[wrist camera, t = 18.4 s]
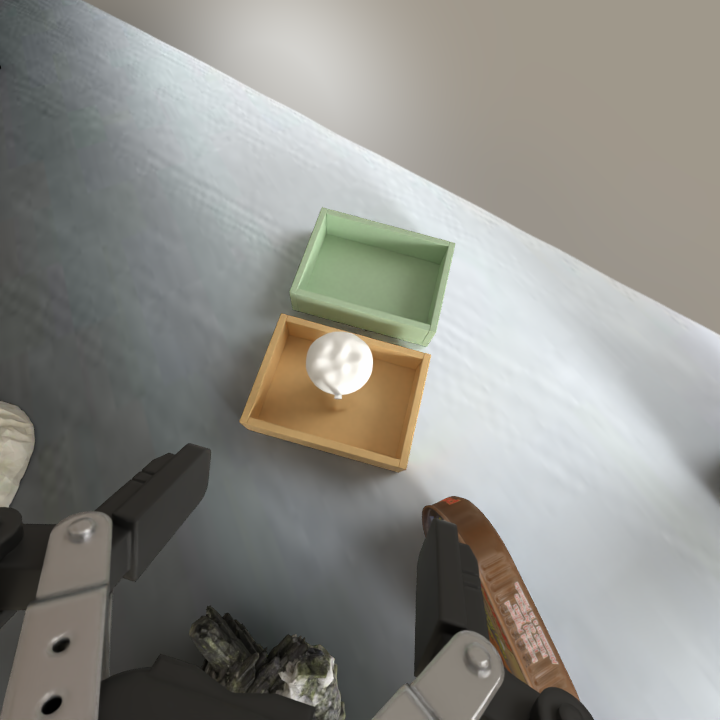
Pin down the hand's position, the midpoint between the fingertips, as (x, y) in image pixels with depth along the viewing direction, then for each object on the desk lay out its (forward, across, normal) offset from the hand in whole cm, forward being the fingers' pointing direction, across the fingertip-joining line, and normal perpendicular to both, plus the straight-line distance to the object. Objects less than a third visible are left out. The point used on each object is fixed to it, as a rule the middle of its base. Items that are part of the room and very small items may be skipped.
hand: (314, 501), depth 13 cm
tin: (+12, -12, +16) cm, 23 cm away
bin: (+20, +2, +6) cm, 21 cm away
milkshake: (+19, +2, +6) cm, 20 cm away
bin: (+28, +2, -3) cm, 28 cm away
